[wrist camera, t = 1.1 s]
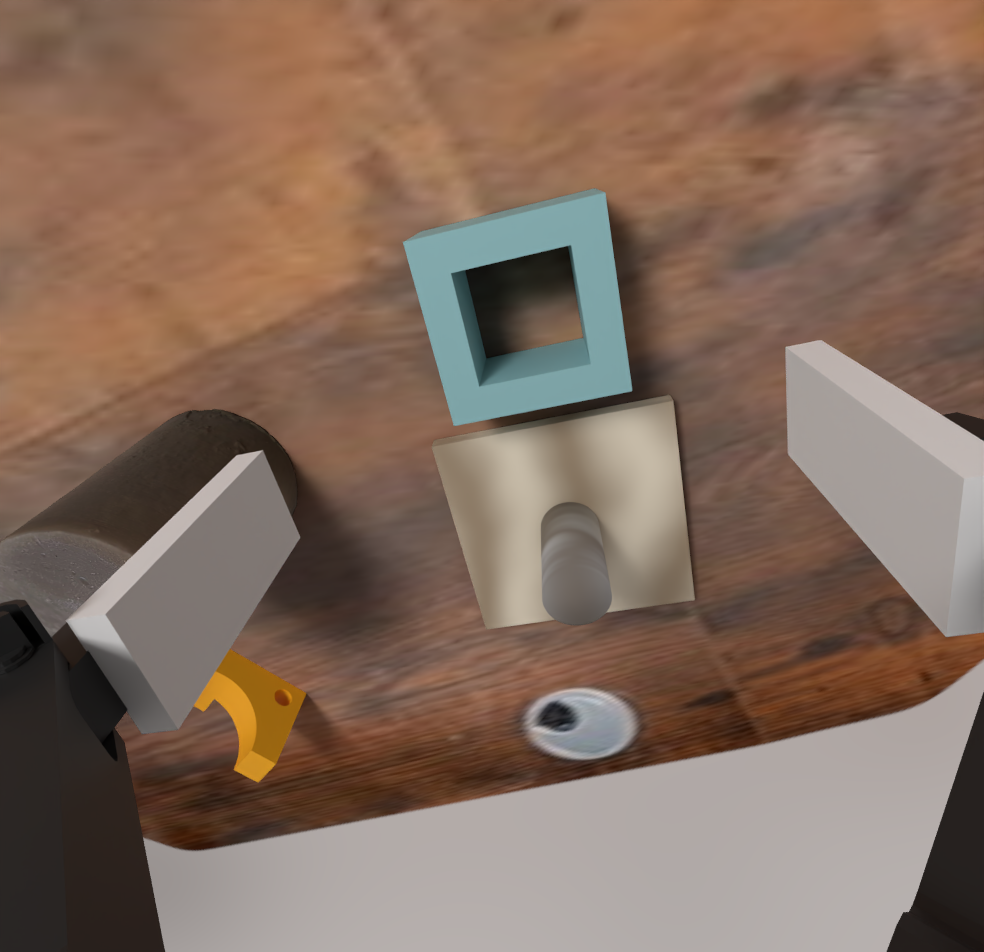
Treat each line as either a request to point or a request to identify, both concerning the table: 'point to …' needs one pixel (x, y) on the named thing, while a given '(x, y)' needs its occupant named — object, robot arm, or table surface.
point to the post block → (571, 514)
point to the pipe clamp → (254, 711)
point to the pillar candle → (126, 510)
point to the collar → (539, 371)
